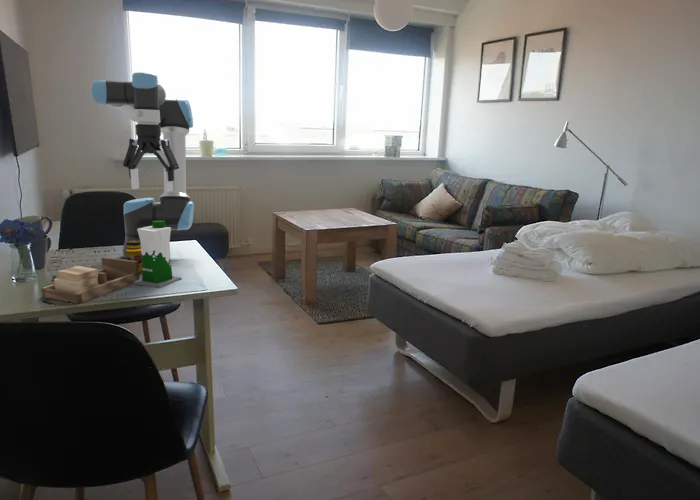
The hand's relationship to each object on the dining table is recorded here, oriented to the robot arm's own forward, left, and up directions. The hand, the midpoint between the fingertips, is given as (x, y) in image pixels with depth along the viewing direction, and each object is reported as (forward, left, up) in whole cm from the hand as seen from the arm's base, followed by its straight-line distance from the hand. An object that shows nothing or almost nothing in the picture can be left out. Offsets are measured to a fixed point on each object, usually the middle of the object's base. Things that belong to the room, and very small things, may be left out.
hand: (152, 190), depth 168 cm
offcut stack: (+21, -13, -31) cm, 40 cm away
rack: (+15, -13, -31) cm, 37 cm away
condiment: (-5, -14, -32) cm, 35 cm away
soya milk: (0, 0, -31) cm, 31 cm away
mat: (0, 0, -31) cm, 31 cm away
